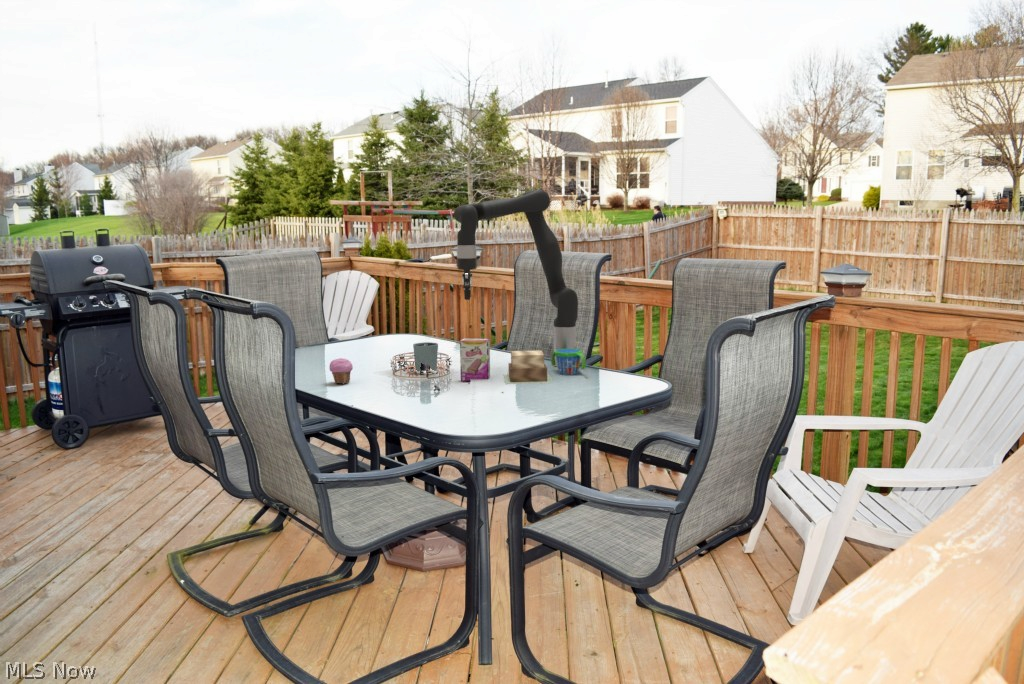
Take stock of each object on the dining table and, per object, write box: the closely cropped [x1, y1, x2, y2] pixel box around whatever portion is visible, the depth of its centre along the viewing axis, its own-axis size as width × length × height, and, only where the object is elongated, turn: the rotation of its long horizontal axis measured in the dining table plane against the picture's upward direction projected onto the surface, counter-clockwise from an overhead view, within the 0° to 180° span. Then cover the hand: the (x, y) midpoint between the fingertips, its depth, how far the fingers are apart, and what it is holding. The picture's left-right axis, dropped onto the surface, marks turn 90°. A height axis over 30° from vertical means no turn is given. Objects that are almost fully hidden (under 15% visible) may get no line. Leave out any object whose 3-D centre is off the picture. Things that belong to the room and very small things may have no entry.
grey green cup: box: [412, 341, 439, 371], centre depth 322 cm, size 10×10×12 cm
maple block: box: [510, 349, 545, 369], centre depth 301 cm, size 12×10×5 cm
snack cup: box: [550, 348, 587, 376], centre depth 311 cm, size 16×10×10 cm
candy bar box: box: [459, 338, 491, 383], centre depth 304 cm, size 11×5×16 cm, turn 84°
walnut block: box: [508, 362, 548, 382], centre depth 301 cm, size 14×12×5 cm
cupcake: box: [329, 357, 354, 384], centre depth 303 cm, size 9×9×10 cm
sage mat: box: [502, 372, 554, 385], centre depth 302 cm, size 18×18×1 cm
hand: (467, 298), depth 307 cm, fingers open, 8 cm apart
